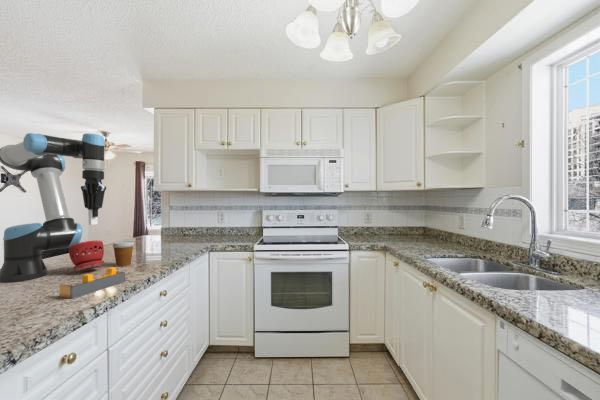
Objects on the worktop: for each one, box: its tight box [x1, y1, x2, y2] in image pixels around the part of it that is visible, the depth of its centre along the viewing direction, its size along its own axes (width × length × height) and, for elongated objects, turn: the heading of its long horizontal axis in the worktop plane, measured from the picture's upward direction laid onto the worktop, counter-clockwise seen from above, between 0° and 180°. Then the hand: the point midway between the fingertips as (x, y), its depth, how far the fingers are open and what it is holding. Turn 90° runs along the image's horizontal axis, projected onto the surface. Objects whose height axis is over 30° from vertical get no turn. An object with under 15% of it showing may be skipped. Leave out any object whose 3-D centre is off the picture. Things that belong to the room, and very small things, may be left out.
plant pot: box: [68, 239, 105, 272], centre depth 129 cm, size 13×13×12 cm
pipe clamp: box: [81, 266, 117, 284], centre depth 107 cm, size 12×4×6 cm, turn 168°
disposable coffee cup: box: [112, 240, 135, 268], centre depth 141 cm, size 10×10×12 cm
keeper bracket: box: [59, 270, 126, 299], centre depth 105 cm, size 7×20×4 cm, turn 162°
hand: (93, 224), depth 118 cm, fingers closed
